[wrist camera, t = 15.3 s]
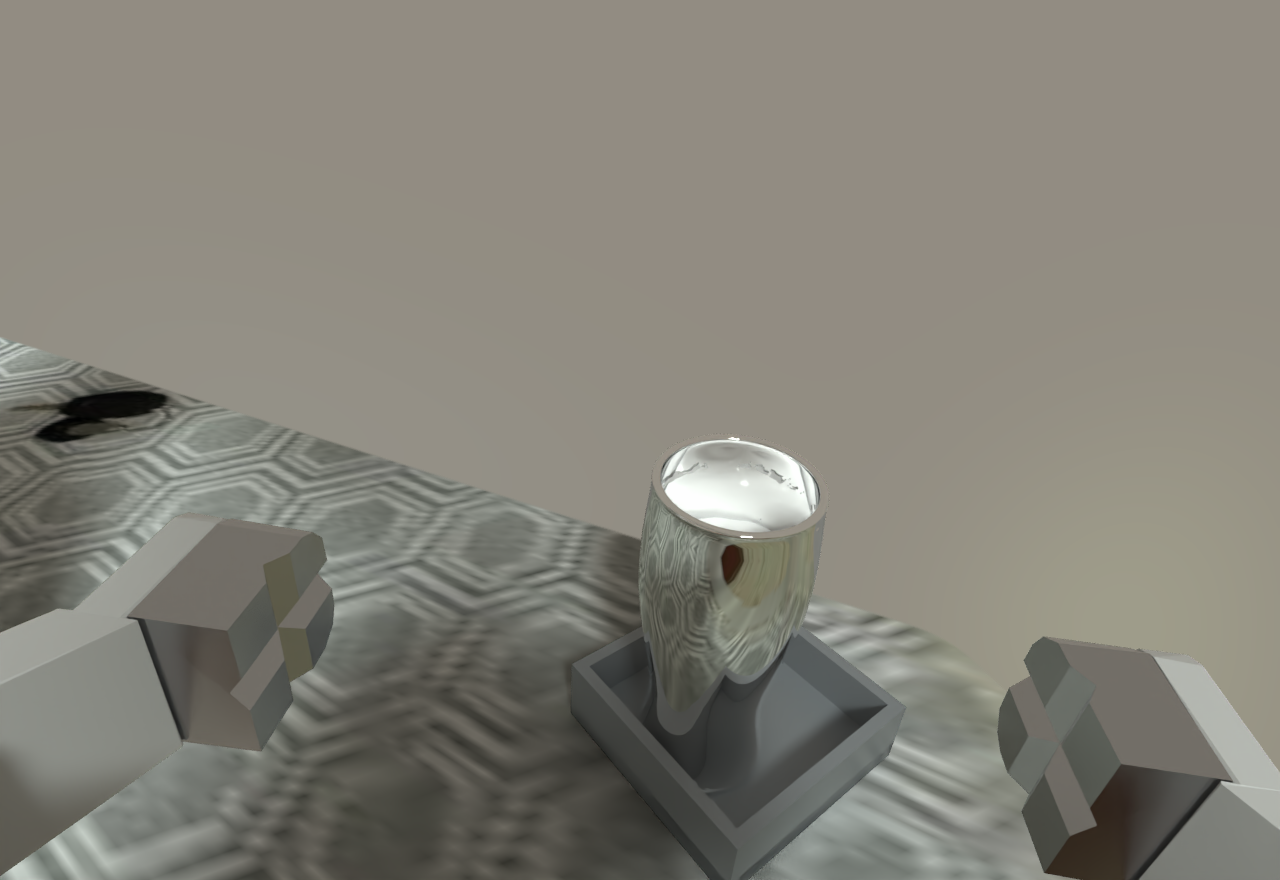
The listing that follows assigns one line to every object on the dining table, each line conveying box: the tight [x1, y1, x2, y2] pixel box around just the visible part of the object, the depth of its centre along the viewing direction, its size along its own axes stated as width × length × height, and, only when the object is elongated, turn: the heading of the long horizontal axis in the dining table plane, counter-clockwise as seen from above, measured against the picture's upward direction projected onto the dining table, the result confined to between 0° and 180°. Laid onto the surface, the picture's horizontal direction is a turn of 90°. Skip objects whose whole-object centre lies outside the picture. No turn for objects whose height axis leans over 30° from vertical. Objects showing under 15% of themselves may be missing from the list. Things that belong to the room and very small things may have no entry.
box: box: [571, 626, 906, 880], centre depth 36 cm, size 11×11×4 cm
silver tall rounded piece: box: [636, 434, 829, 794], centre depth 31 cm, size 7×7×15 cm
